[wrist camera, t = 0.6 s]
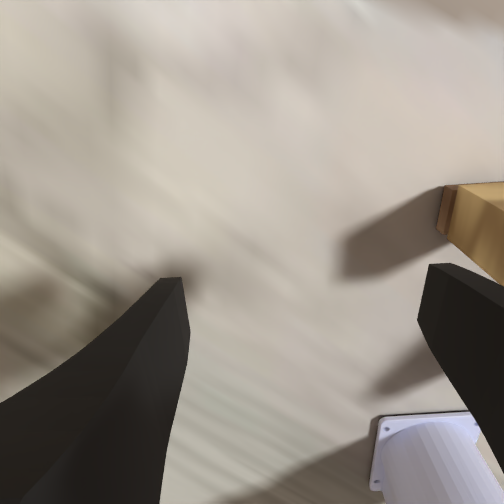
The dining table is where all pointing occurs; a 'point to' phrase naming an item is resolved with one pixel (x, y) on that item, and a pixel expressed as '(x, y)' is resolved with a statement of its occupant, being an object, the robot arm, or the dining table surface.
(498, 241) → the wooden t-shaped handle
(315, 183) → the dining table surface
